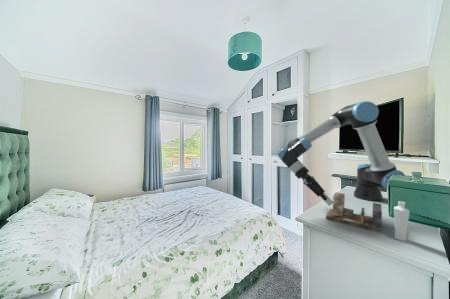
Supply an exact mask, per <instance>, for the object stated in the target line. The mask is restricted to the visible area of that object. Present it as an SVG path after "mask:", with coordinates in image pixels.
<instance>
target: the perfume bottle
mask: <svg viewBox="0 0 450 299" xmlns="http://www.w3.org/2000/svg"><path fill="white" fill-rule="evenodd" d="M410 212H411V211H410V209H408V208H406V202H405V201H400V200H399V201H397V205H396V206H394V207H393V217H394V218H393V219H394V234H393V235H394V236H393V238H394V239H397V240H398V241H403V242H404V241H405V242H406V241H408V239H407V232H408V224H409V220H410Z"/></svg>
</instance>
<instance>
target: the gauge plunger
mask: <svg viewBox="0 0 450 299" xmlns="http://www.w3.org/2000/svg"><path fill="white" fill-rule="evenodd" d="M345 195H346V194H345V193H343V192H342V193H341V192H335V193H334V194H333V196H332V197H333V199H332V201H333V204H332V207H333V208H332V209H333V215H335V216H340V217H343V214H344V212H347V213H351V214H353V213H354V209H351V208H345Z"/></svg>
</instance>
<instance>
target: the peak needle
mask: <svg viewBox="0 0 450 299" xmlns="http://www.w3.org/2000/svg"><path fill="white" fill-rule="evenodd" d="M360 211H361V212H360V215H361V223H363V220H364V216H365V211H366V210H365V207H361V210H360Z"/></svg>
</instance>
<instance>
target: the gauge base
mask: <svg viewBox="0 0 450 299" xmlns="http://www.w3.org/2000/svg"><path fill="white" fill-rule="evenodd" d="M382 218H383V211H382V204H381V203H376V202H372V216H367V215H364V220H363V223H361V214H359V213H358V214H357V213H354V212H353V214H351V213H347V212H344V214H343V217H340V216H335V215H333V208H329V210H328V212H327V213H326V215H325V219H326V220H328V221H329V220H330V221H334V222H337V223H341V224H346V225H349V226H353V227H357V228H360V229H366V230H370V231H372V232H376V233H378V232H379V230H382V225H383V224H382Z"/></svg>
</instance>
